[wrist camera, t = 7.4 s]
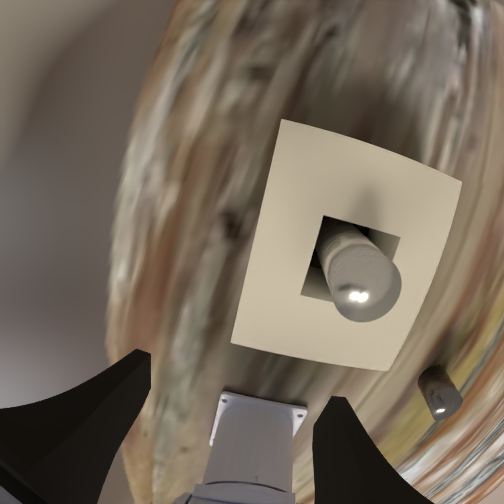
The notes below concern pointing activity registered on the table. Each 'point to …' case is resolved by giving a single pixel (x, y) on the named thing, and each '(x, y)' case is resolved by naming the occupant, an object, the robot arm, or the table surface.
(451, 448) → the table surface
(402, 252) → the hole block
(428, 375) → the short pin
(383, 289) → the long pin
